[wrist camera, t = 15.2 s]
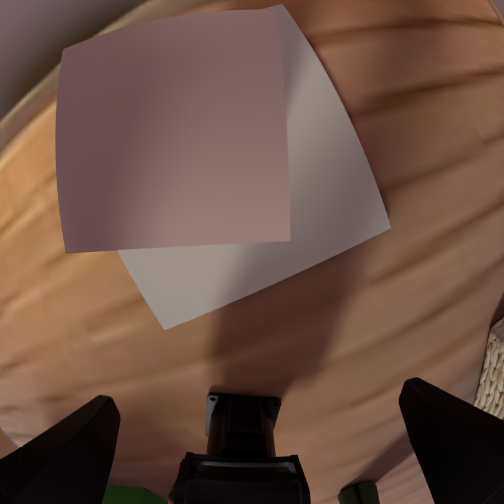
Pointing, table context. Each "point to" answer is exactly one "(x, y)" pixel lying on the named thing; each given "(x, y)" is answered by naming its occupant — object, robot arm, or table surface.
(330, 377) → the table surface
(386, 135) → the table surface
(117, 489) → the green cereal box
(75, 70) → the rose card box
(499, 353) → the storage basket
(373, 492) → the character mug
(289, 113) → the white square plate
